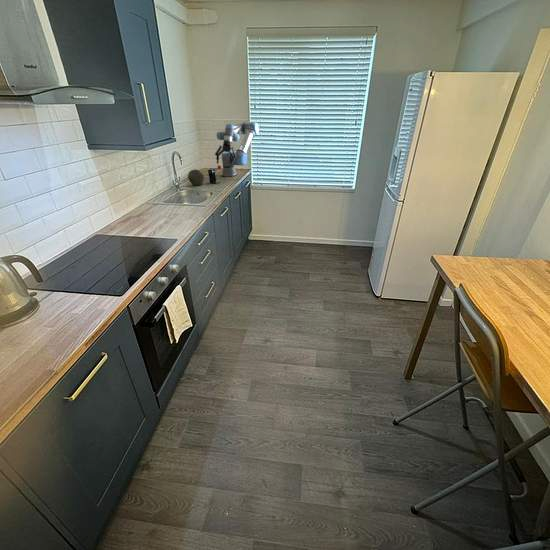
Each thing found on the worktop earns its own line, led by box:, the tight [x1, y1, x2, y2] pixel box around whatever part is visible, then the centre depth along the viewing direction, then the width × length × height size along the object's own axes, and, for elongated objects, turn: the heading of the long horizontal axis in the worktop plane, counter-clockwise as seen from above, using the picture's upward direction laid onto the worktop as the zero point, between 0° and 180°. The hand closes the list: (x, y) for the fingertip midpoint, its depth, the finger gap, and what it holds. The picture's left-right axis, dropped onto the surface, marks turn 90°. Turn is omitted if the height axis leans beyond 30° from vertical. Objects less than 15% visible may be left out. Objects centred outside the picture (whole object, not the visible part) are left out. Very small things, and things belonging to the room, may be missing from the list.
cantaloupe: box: [187, 169, 205, 187], centre depth 275 cm, size 14×14×15 cm
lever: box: [211, 164, 222, 172], centre depth 276 cm, size 13×4×4 cm, turn 71°
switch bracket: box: [205, 168, 221, 185], centre depth 281 cm, size 11×9×13 cm
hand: (224, 164), depth 276 cm, fingers open, 13 cm apart
